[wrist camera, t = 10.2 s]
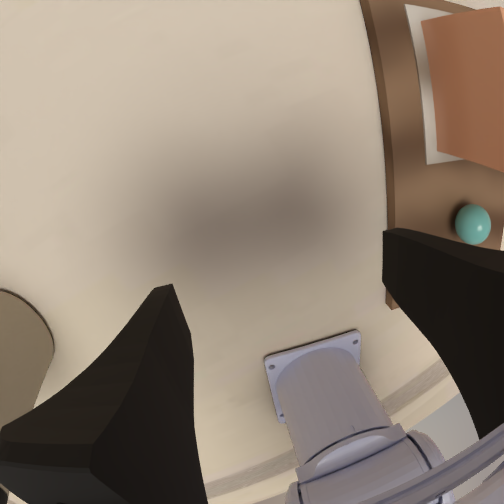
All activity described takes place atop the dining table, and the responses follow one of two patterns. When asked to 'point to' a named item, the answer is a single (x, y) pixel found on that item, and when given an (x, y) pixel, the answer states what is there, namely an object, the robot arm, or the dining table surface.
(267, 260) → the dining table surface
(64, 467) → the robot arm
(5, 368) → the travel mug
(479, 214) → the teal marble
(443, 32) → the terracotta cover
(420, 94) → the walnut board
